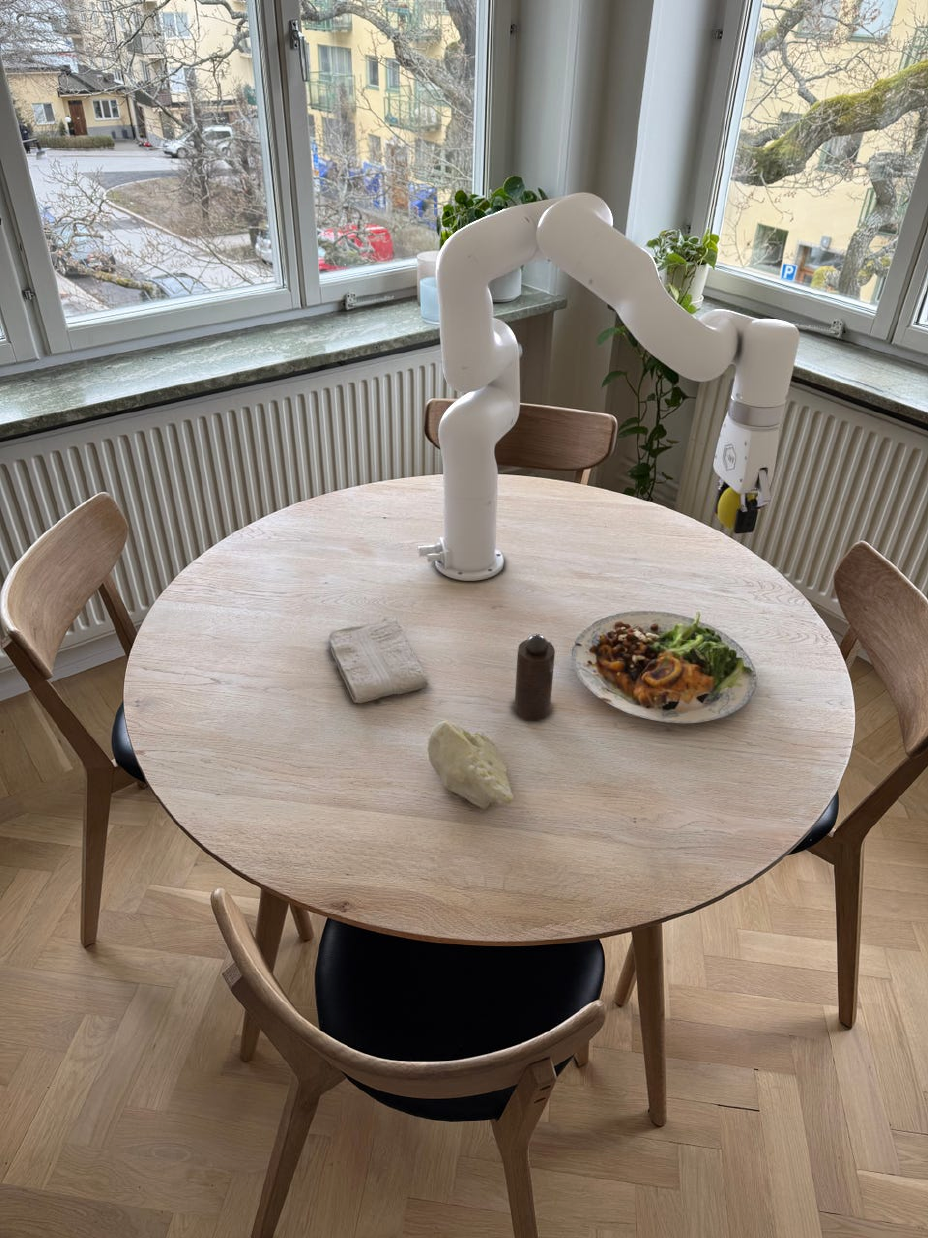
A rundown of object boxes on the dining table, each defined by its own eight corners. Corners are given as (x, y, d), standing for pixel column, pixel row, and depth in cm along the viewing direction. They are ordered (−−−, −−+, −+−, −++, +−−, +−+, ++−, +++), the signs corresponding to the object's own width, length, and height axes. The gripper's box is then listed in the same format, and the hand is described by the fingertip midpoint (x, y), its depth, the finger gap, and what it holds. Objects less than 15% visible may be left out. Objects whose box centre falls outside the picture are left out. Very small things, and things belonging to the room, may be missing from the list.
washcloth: (394, 626, 149) (393, 611, 148) (431, 690, 136) (431, 674, 134) (324, 642, 146) (322, 626, 144) (355, 709, 132) (354, 693, 130)
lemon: (747, 523, 142) (756, 476, 138) (752, 540, 138) (763, 493, 133) (711, 521, 143) (720, 475, 138) (716, 538, 138) (725, 491, 134)
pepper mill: (519, 723, 130) (524, 649, 122) (510, 700, 134) (514, 628, 127) (554, 718, 131) (560, 645, 123) (544, 695, 135) (549, 623, 128)
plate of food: (760, 642, 147) (768, 611, 143) (746, 753, 125) (755, 720, 122) (592, 609, 154) (595, 579, 151) (551, 708, 133) (554, 676, 129)
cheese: (433, 754, 127) (389, 756, 113) (465, 714, 126) (424, 711, 112) (512, 829, 122) (475, 841, 108) (546, 789, 121) (514, 795, 107)
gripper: (705, 391, 135) (688, 499, 146) (760, 436, 121) (736, 552, 132) (751, 387, 137) (730, 495, 147) (811, 431, 123) (783, 547, 133)
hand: (733, 521), depth 139 cm, fingers closed on lemon, 5 cm apart
